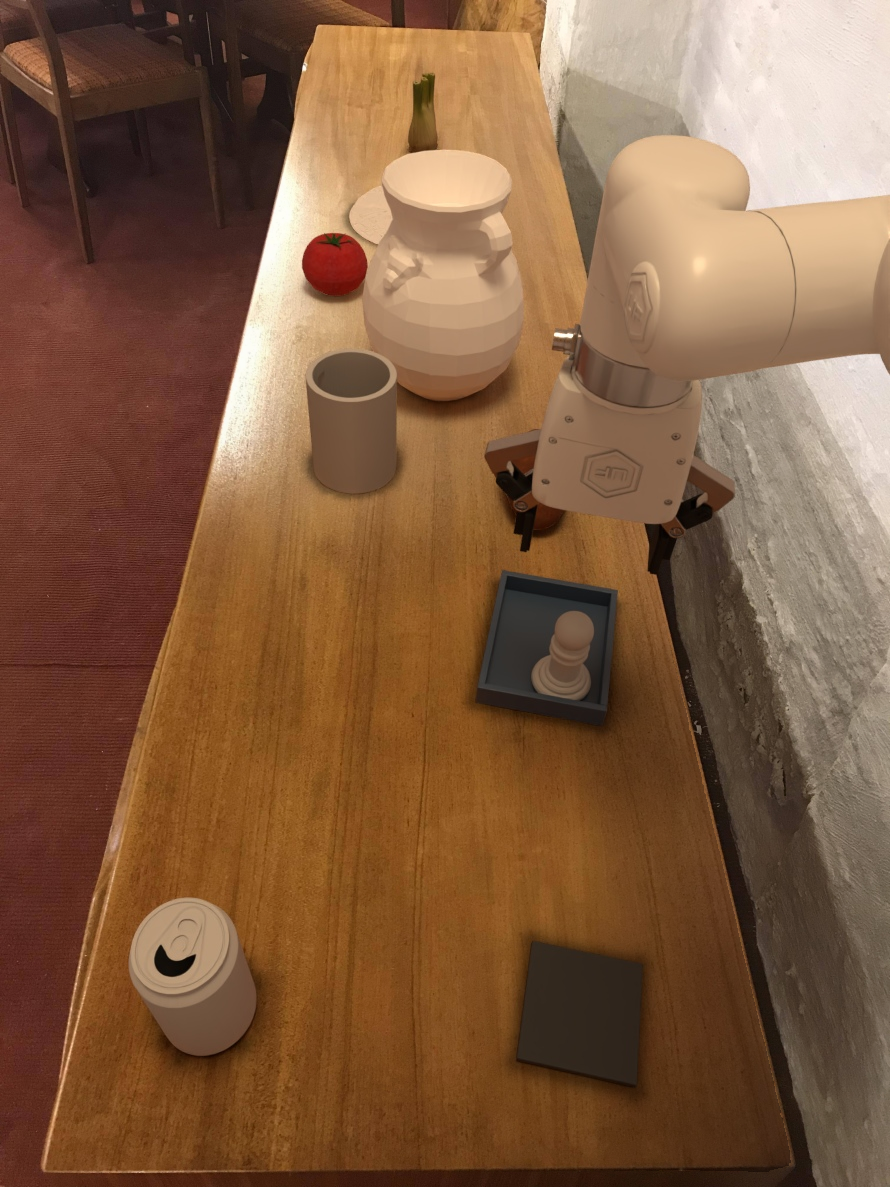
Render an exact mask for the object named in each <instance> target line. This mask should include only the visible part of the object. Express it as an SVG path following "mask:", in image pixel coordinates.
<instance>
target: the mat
mask: <svg viewBox="0 0 890 1187" xmlns="http://www.w3.org/2000/svg"><path fill="white" fill-rule="evenodd" d="M528 959H529V960H528V966H527V974H526V981H525V989H524V996H523V1003H522V1012H521V1019H520V1026H519V1034H518V1041H517V1047H516V1048H517V1049H516V1057H515V1060H516V1061H517V1062H521V1063H525V1064H529V1065H530V1064H531V1065H534V1066H539V1067H544V1068H548V1069H551V1070H552V1069H553V1070H557V1071H560V1072H565V1073H570V1074H575V1075H579V1076H583V1077H587V1078H592V1079H596V1080H601V1081H605V1082H610V1083H614V1084H619V1085H623V1086H627V1087H631V1088H636V1087H637V1085H638V1071H639V1070H638V1069H639V1068H638V1067H639V1051H640V1033H641V1032H640V1030H641V1029H640V1028H641V1012H642V1010H641V1008H642V990H643V989H642V988H643V972H644V971H643V969H644V964H643V963H640V962H636V961H632V960H627V959H621V958H618V957H612V956H608V955H603V954H598V953H593V952H589V951H583V950H581V949H574V948H570V947H565V946H561V945H557V944H551V943H546V942H542V941H537V940H532V941H531V943H530V951H529V958H528Z"/></svg>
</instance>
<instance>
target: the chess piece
mask: <svg viewBox="0 0 890 1187" xmlns="http://www.w3.org/2000/svg"><path fill="white" fill-rule="evenodd" d="M593 635H594V626H593V623H592V621H591V619H590V618H589V617H588V616H587V615H586V614H584V613H582V612H579V611H569V612H566V613H564V614H563V615H561V616H560V617H559V618H558V620H557V622H556V625H555V634H554V635H553V636H552V638H551V644H550V647H549V650H550V655H549V656H546V657H544V658H542V659H541V660H539V661H538V662H537V663H536V665H535V666H534V668H533V670H532V675H531V679H532V684H533V687H534V689H535V690H536V692H537V693H540V694H545V695H551V696H556V697H562V698H567V699H572V700H578V701H580V700H582V699H583V698H584V697H585V696H586V695H587V694H588V692H589V690H590V687H591V677H590V674H589V671H588V670H587V668H586V667H585V665H584V664H583V662H584V661H585V660H586V659H587V657H588V652H589V649H590V642H591V641H592V639H593Z"/></svg>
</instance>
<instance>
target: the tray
mask: <svg viewBox="0 0 890 1187" xmlns="http://www.w3.org/2000/svg"><path fill="white" fill-rule="evenodd" d="M496 592H497V593H496V597H495V602H494V607H493V612H492V615H491V620H490V626H489V630H488V635H487V640H486V644H485V649H484V653H483V659H482V662H481V667H480V672H479V676H478V681H477V687H476V694H475V703H476V704H483V705H488V706H493V707H498V708H505V709H509V710H514V711H521V712H525V713H529V714H530V713H531V714H536V715H541V716H546V717H547V716H548V717H552V718H557V719H562V720H568V721H574V722H578V723H584V724H589V725H594V726H599V727H603V724H604V721H605V718H606V715H607V712H608V703H609V690H610V680H611V669H612V660H613V648H614V637H615V625H616V616H617V615H616V614H617V605H618V595H619V594H618V593H619V590H618V589H614V588H608V587H603V586H596V585H592V584H591V585H590V584H585V583H580V582H573V581H569V580H562V579H556V578H550V577H545V576H539V575H533V574H527V573H522V572H516V571H509V570H504V569H502V570H501V574H500V578H499V583H498V588H497V591H496ZM569 611H579V612H582V613H584V614H586V615H587V616H588V617H589V618H590V619H591V621H592V623H593V626H594V635H593V639H592V641H591V642H590V649H589V652H588V657H587V659H586V660H585V661H584V662H583V664H584V665H585V667H586V668H587V670H588V671H589V674H590V677H591V687H590V690H589V692H588V694H587V695H586V696H585V697H584V698H583V699H582V700H580V701H578V700H572V699H567V698H562V697H556V696H551V695H545V694H540V693H537V692H536V690H535V689H534V687H533V684H532V679H531V675H532V670H533V668H534V666H535V665H536V663H537V662H538V661H539V660H541V659H542V658H544V657H546V656H549V655H550V650H549V647H550V644H551V638H552V636H553V635H554V634H555V625H556V622H557V620H558V618H559V617H560V616H561V615H563V614H564V613H566V612H569Z"/></svg>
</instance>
